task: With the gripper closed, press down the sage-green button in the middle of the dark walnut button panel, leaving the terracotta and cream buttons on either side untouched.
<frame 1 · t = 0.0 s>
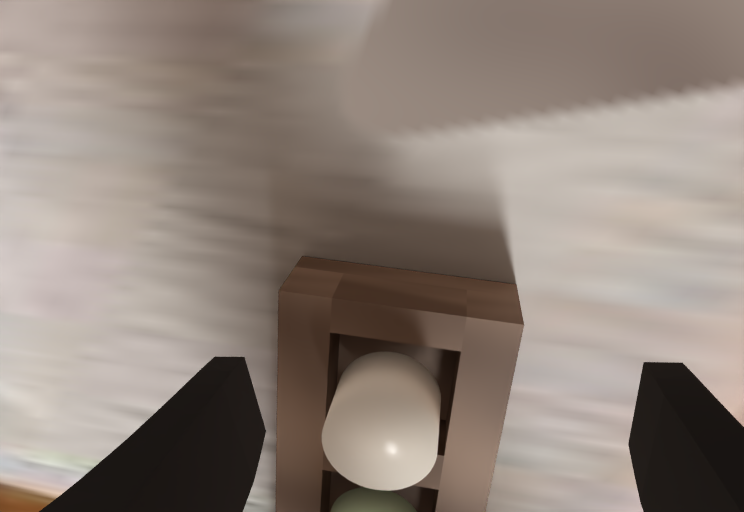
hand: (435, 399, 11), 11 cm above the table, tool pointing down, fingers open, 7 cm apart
cream button: (384, 419, 19), point 4 cm above the table, slide at 0.0 cm
button panel: (385, 467, 25), on the table
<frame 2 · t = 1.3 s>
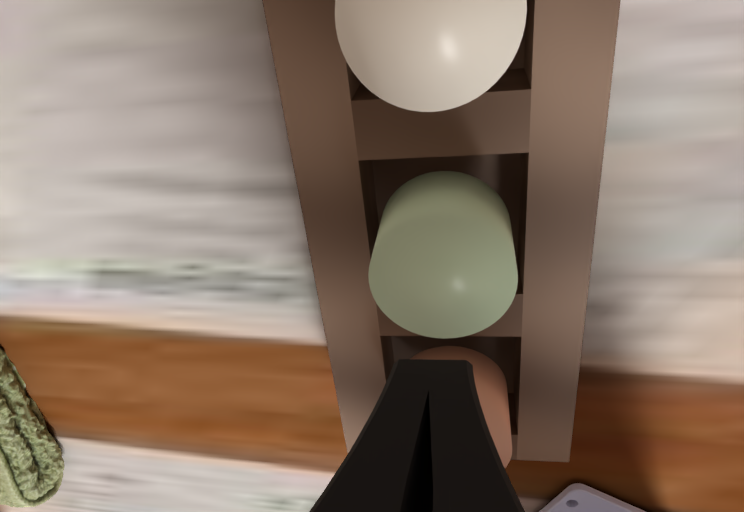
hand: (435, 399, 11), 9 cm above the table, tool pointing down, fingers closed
terracotta button: (450, 415, 18), point 4 cm above the table, slide at 0.0 cm
cream button: (431, 7, 12), point 4 cm above the table, slide at 0.0 cm
button panel: (447, 184, 19), on the table
sage button: (443, 254, 15), point 4 cm above the table, slide at 0.0 cm
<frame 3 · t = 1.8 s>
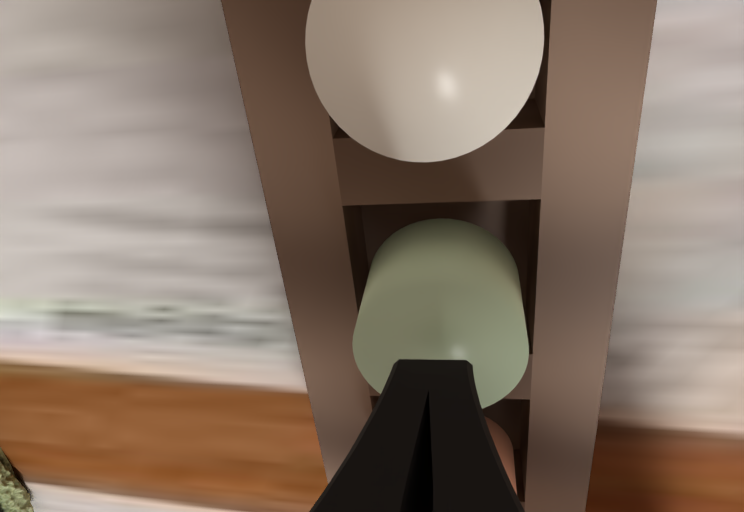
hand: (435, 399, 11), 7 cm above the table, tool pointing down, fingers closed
terracotta button: (450, 487, 16), point 4 cm above the table, slide at 0.0 cm
cream button: (425, 34, 10), point 4 cm above the table, slide at 0.0 cm
button panel: (446, 224, 16), on the table
sage button: (440, 315, 13), point 4 cm above the table, slide at 0.0 cm
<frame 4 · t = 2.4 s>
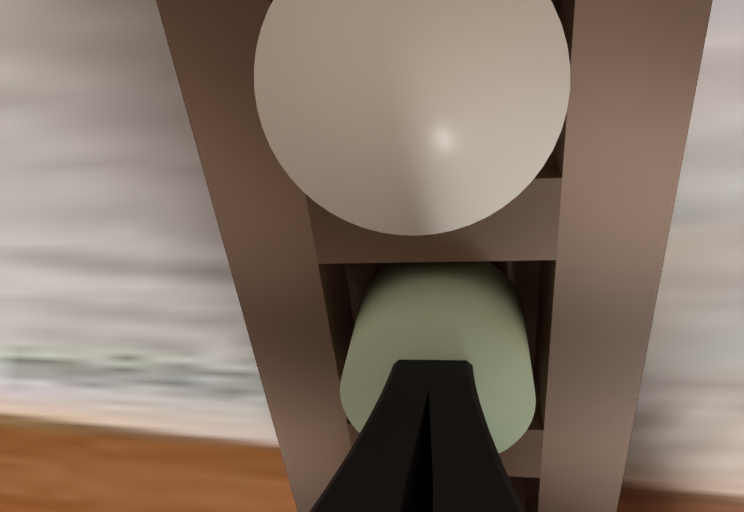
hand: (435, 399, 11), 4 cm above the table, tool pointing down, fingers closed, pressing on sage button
cream button: (414, 71, 8), point 4 cm above the table, slide at 0.0 cm
button panel: (442, 271, 14), on the table
sage button: (438, 356, 12), point 3 cm above the table, slide at 1.1 cm, touching gripper
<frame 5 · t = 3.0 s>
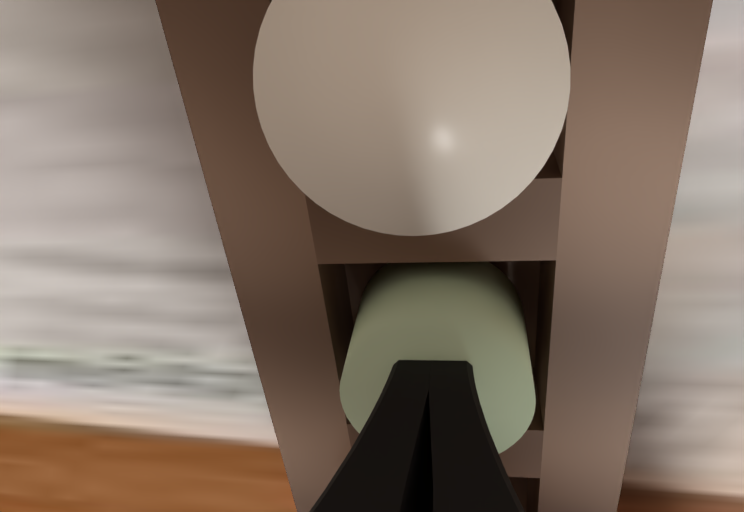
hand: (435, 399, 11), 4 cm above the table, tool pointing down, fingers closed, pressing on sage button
cream button: (414, 71, 8), point 4 cm above the table, slide at 0.0 cm
button panel: (442, 272, 14), on the table
sage button: (437, 356, 12), point 3 cm above the table, slide at 1.1 cm, touching gripper
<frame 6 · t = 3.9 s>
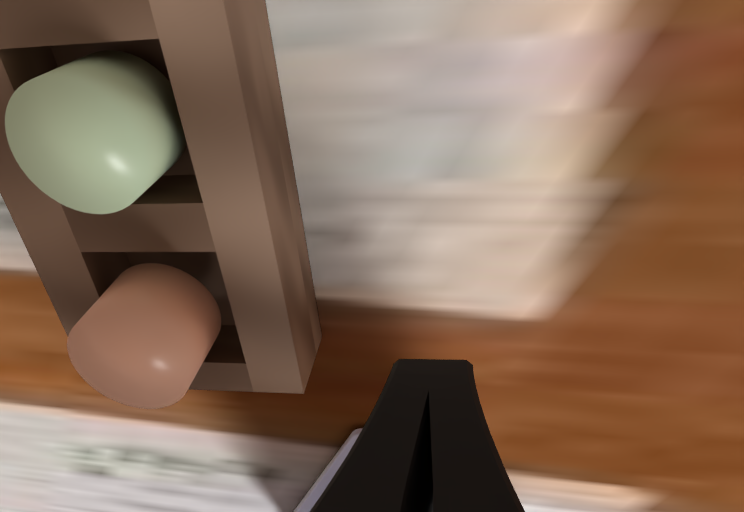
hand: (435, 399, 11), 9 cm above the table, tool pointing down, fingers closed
terracotta button: (148, 335, 17), point 4 cm above the table, slide at 0.0 cm
button panel: (156, 96, 18), on the table
sage button: (103, 131, 15), point 3 cm above the table, slide at 1.1 cm
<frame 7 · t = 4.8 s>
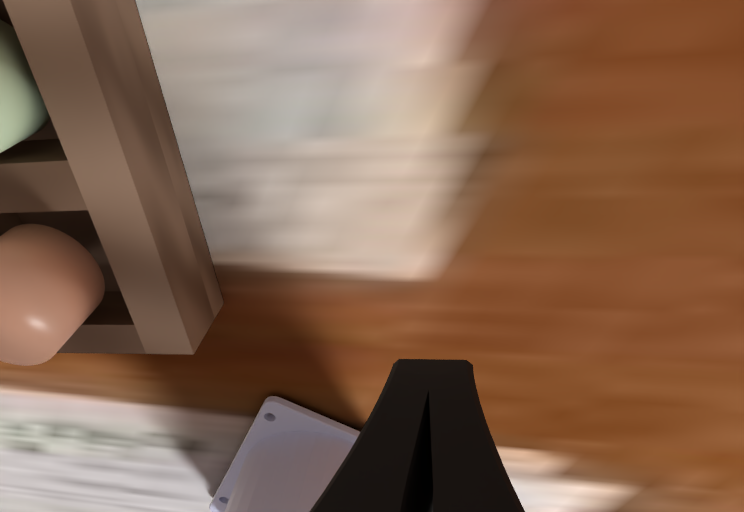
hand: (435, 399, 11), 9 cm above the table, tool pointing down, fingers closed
terracotta button: (27, 294, 18), point 4 cm above the table, slide at 0.0 cm
button panel: (34, 62, 18), on the table
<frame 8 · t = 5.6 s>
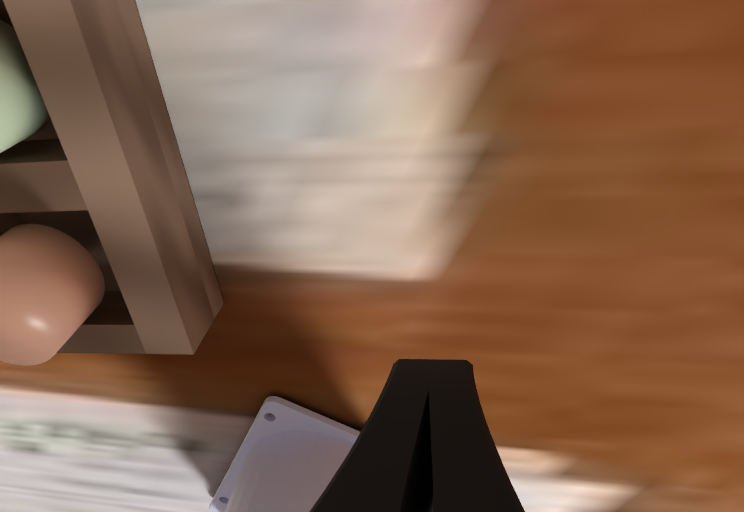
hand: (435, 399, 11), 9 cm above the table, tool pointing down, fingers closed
terracotta button: (27, 294, 18), point 4 cm above the table, slide at 0.0 cm
button panel: (34, 62, 18), on the table
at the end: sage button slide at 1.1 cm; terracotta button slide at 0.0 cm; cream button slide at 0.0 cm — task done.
